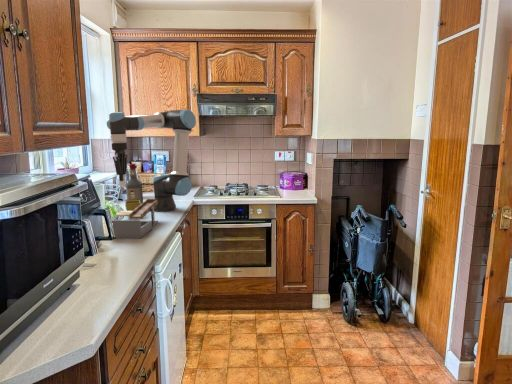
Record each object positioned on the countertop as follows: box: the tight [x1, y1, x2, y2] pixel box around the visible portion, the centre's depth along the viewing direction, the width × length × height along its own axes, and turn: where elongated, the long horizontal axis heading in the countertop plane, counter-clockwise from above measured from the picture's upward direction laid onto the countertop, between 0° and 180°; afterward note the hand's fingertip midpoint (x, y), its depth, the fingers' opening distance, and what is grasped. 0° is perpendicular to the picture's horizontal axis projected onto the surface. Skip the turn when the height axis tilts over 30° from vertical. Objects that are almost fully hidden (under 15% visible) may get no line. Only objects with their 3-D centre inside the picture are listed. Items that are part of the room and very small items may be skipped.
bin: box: [111, 219, 153, 239], centre depth 184 cm, size 15×15×9 cm
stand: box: [135, 207, 159, 228], centre depth 201 cm, size 8×12×10 cm, turn 86°
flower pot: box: [124, 200, 140, 218], centre depth 221 cm, size 9×9×9 cm
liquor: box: [125, 163, 144, 205], centre depth 240 cm, size 9×9×30 cm
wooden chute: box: [115, 198, 158, 219], centre depth 201 cm, size 24×16×5 cm, turn 176°
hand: (123, 186), depth 193 cm, fingers closed
